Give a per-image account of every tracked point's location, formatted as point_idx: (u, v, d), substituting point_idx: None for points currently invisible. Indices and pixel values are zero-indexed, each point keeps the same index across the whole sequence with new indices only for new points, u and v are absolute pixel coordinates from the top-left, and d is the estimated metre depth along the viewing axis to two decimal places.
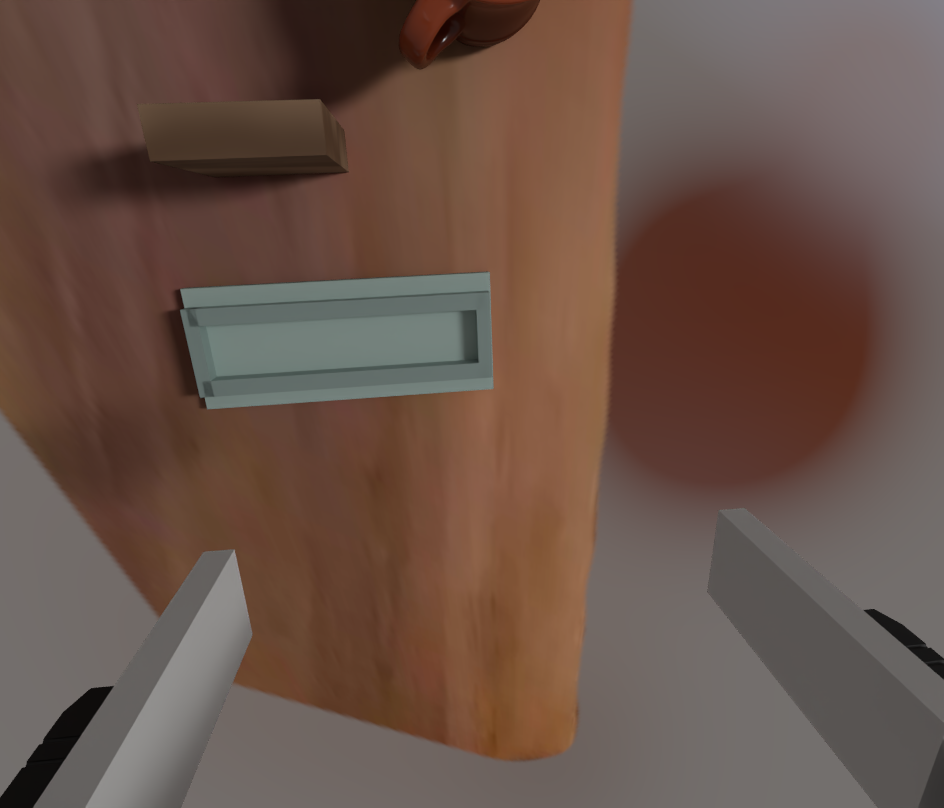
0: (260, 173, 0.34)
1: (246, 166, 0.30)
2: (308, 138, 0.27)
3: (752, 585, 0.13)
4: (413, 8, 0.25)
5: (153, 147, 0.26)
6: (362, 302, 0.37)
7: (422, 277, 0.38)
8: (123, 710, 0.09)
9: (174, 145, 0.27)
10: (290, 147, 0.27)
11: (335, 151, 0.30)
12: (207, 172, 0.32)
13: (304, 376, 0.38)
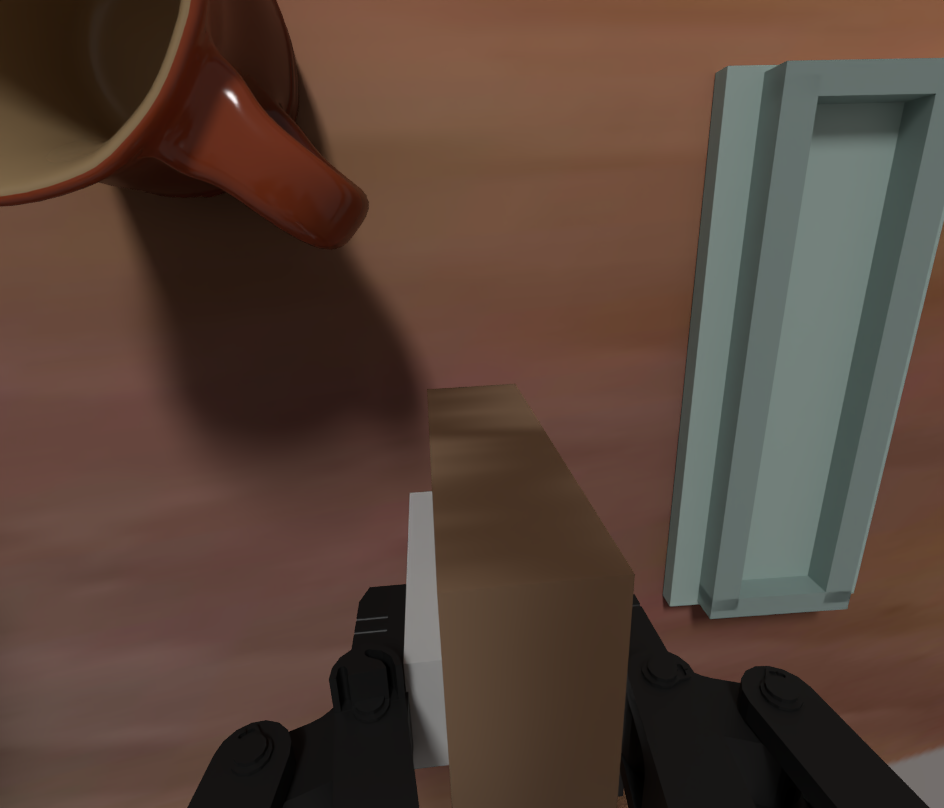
0: None
1: None
2: (572, 631, 0.07)
3: None
4: (255, 206, 0.10)
5: None
6: (752, 344, 0.19)
7: (714, 222, 0.19)
8: (426, 593, 0.11)
9: None
10: (596, 683, 0.07)
11: (534, 465, 0.10)
12: None
13: (859, 455, 0.21)
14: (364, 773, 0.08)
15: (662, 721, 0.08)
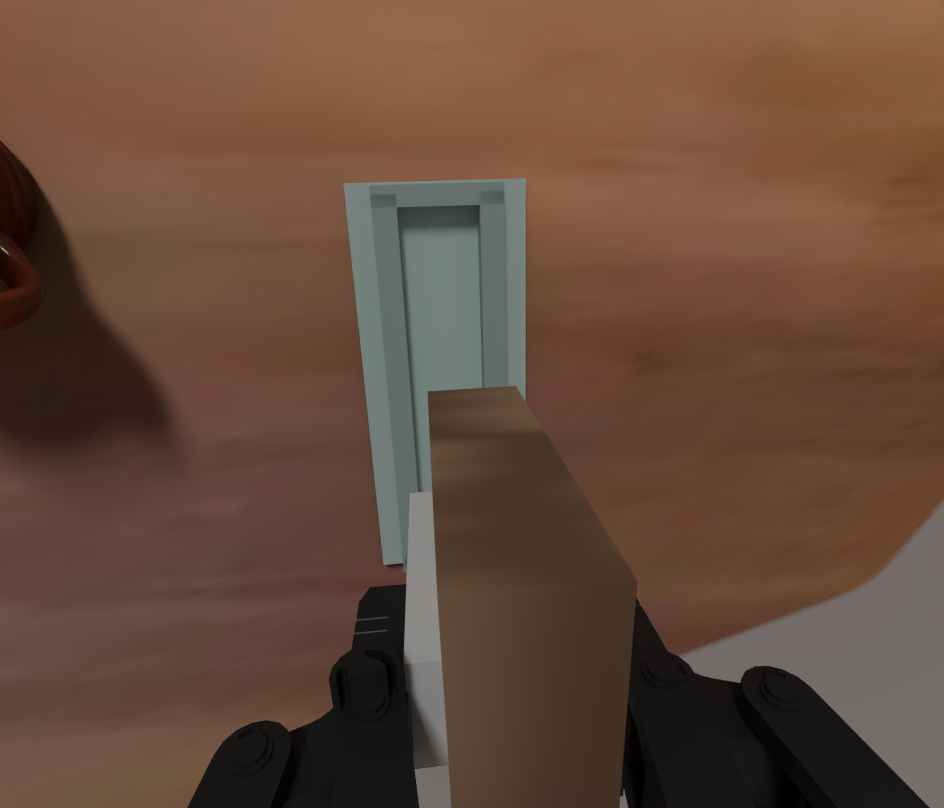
0: None
1: None
2: (574, 638, 0.07)
3: None
4: None
5: None
6: (389, 372, 0.27)
7: (356, 287, 0.27)
8: (426, 593, 0.11)
9: None
10: (598, 691, 0.07)
11: (535, 468, 0.10)
12: None
13: None
14: (364, 773, 0.08)
15: (662, 721, 0.08)
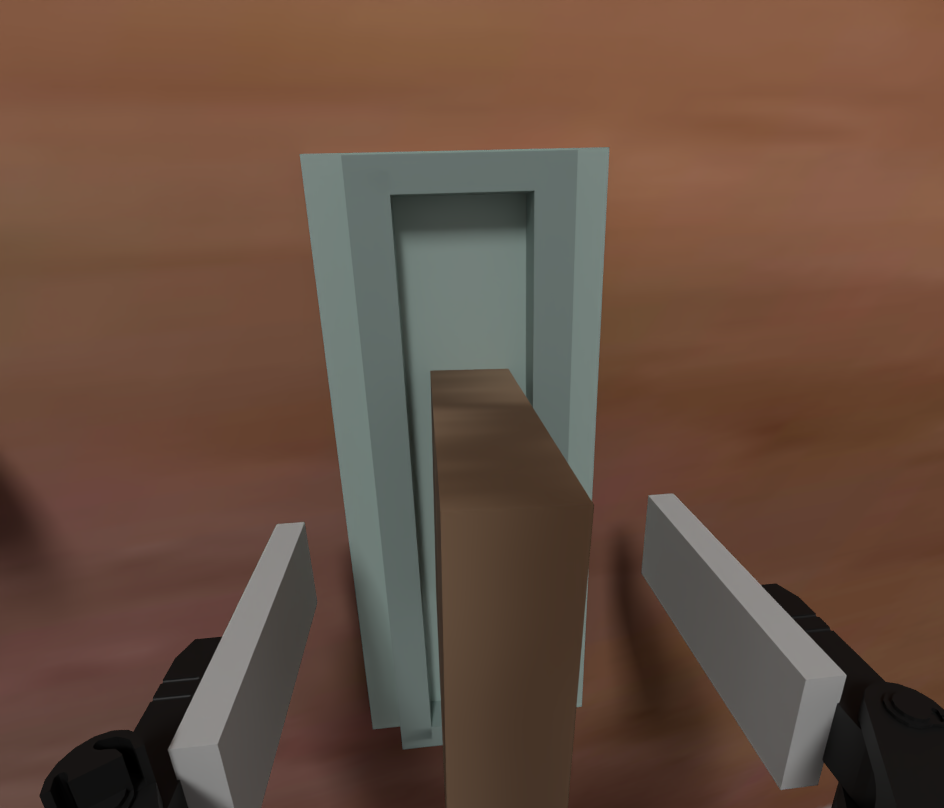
0: None
1: None
2: (544, 549, 0.09)
3: (673, 564, 0.14)
4: None
5: None
6: (379, 466, 0.17)
7: (324, 327, 0.16)
8: (237, 652, 0.10)
9: None
10: (563, 594, 0.09)
11: (521, 430, 0.12)
12: None
13: None
14: None
15: (906, 757, 0.08)
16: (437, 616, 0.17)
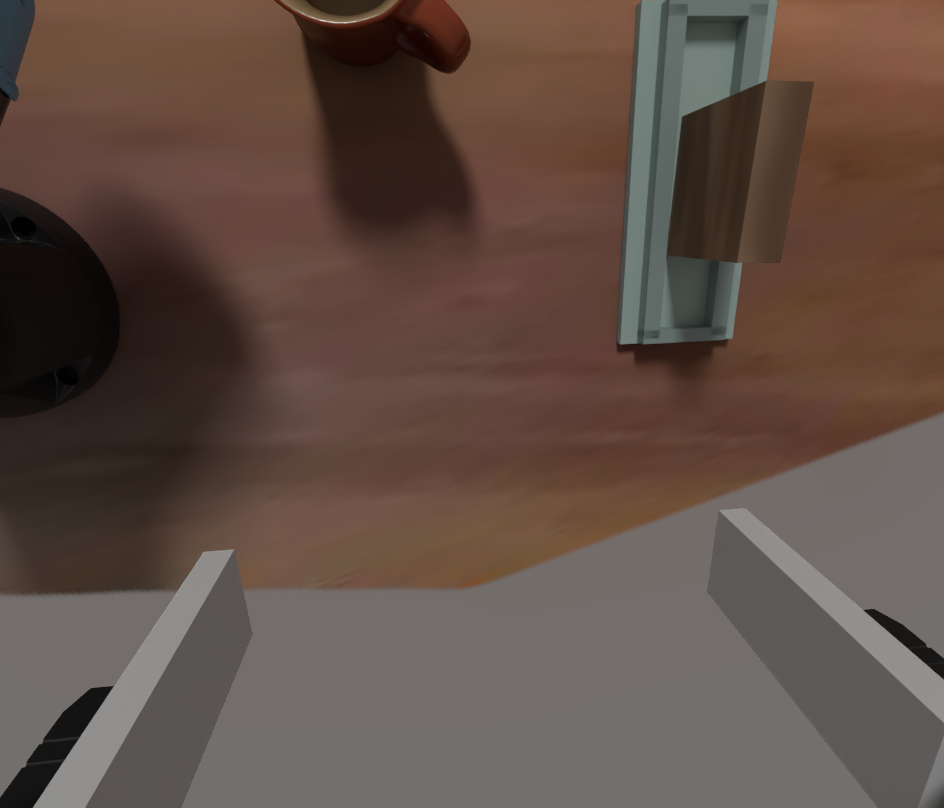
0: None
1: None
2: (795, 100, 0.27)
3: (752, 585, 0.13)
4: (434, 35, 0.25)
5: (770, 256, 0.29)
6: (660, 160, 0.34)
7: (637, 90, 0.34)
8: (123, 710, 0.09)
9: (772, 236, 0.29)
10: (798, 121, 0.27)
11: None
12: None
13: None
14: None
15: None
16: (682, 240, 0.35)
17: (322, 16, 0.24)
